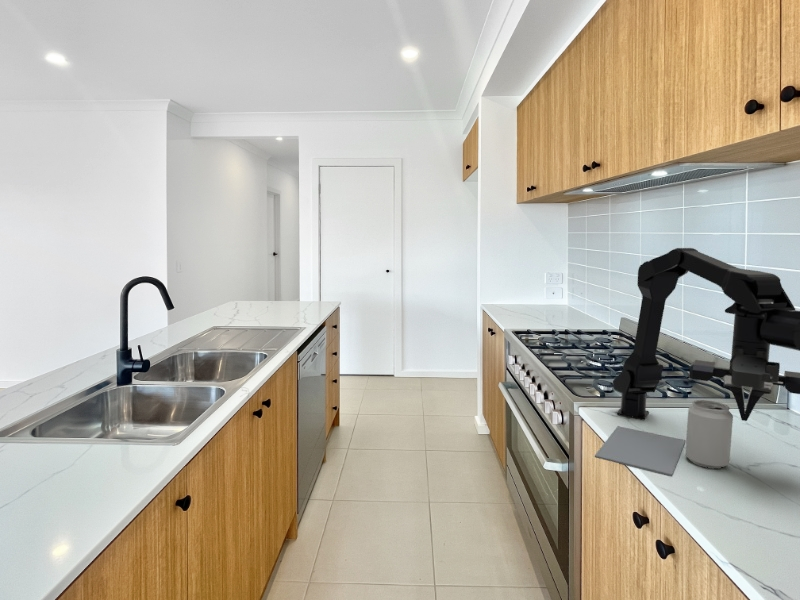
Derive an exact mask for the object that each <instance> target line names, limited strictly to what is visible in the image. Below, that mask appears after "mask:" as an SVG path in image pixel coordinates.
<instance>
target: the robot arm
mask: <svg viewBox="0 0 800 600" xmlns="http://www.w3.org/2000/svg"><path fill="white" fill-rule="evenodd" d="M688 273H691V274H694V275H695V276H698V277H700V278H701V279H704V280H706V281H708V282H711V283H712V284H715V285H717V286H718V287H719V288H721V291H722V292H723V294H724V295H725V296H727V297H728V298H729V299H731V300H732V301H733V302H734V303H733V304H731V305H729V306H728V307H727V308H725V309H724V313H726V314H731V315H734V320H733V329H732V330H733V332H732V341H731V342H732V343H731V344H732V345H731V357H730V359H729V368H725V367H717V366H716V362H714V361H706V360H698V359H695V360H694V361H692V362H691V364H690V366H689V374H688V375H689V376H688V378H689V379H690V380H696V381H704V382H708V381H710V380H712V379H713V378H714V377H717V378H722V379H723V381H724V382H723V388H725V389H729V390H730V392H731V393H732V395H733V398H734V399H735V403H736V406H737V409H738V413H739V414H740V415H739V416H740V419H741V421H745V422H747V421H748V420H749V417H750V416H751V414H752V412H753V410H754V408H755V406H756V405H757V403H758V401H760V399H761V398H762V397H763V396H764V395H771V394H772V392H773V391H772V387H773V386H780V387H784V388H785V389H786V390H787V391H788V392H789V393H790V394H795V395H800V372H797V371H788V370H784V374H781V375H780V367H781V366H780V365H781V364H780V362H774V361H770V360H769V359H770V348H771V345H772V346H776V347H781V348H784V349H789V350H793V351H799V352H800V310H796V307H795V306H794V304H793V302H792V301H791V299H790V297H789V296H788V294H787V293H786V291H785V289H784V288H783V286H782V283H781V278H780V277H779V276H778V275H776V274H775V273H771V272H765V271H761V270H760V271H759V270H755V269H754V270H753V269H746V268H739V267H736V266H734V265H732V264H729V263H727V262H724V261H722V260H719V259H717V258H715V257H712V256H710V255H708V254H705V253H702V252H701V251H698V249H696V248H693V247H676V248H673V249H672V250H669V252H667V253H664V254H662V255H660V256H657V257H655V258H652V259H650V260H647V261H644V262H643V263H641V264H640V265H639V267H638V270H637V287H638V289H639V291H640V294H641V296H642V297H641V298H642V299H641V303H640V308H639V309H640V311H639V314H638V315H639V316H638V322H637V327H636V334H635V341H634V344H633V345H634V346H633V349H632V350H633V351H632V353H631V354H630V355H629V356H628V357H627V358H626V359H625V361H624V363H623V366H622V370H621V372H620V373H619V374H618V375H617V376H616V377H615V378H614V380H612V385H613V389H614V390H615V391H617V392H619V393H621V397H620V398H621V399H620V408H619V410H617V411H616V415H617V416H621V417H622V416H623V417H627V418H632V419H638V420H643V421H644V420H646V418H647V417H648V415H649V413H650V411H649V410H647V408H646V407H647V394H648V393H655V392H656V389H657V388H658V385H659V383H660V382H661V381H663V379H662V374H663V372H664V371H663V370H664V365H663V364H660V363H659V361H658V358H657V356H656V355H657V350H658V344H659V340H660V339H659V338H660V333H661V327H662V322H663V316H664V311H665V306H666V300H667V298H669V297H670V296H671V294H672V293H674V290H676V287H677V284H678V281H679V279H680V278H681V277H683V276H684V275H687V274H688ZM744 387H749V388H750V390H749V394H748V397H747V402H746V405H745V393H744Z"/></svg>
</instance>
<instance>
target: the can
mask: <svg viewBox="0 0 800 600" xmlns="http://www.w3.org/2000/svg"><path fill="white" fill-rule="evenodd" d="M730 410H731V409H730V407H729V405H727V404H724V403H721V402H719V401H715V400H707V399H699V400H697V399H696V400H694V401H692V405H691V406H690V407H688V410H687V423H686V424H687V425H686V428H687V429H686V438H685V453H684V454H685V456H686V457H687V458H688V459H689V461H690V462H691V463H693V464H695V465H696V466H699V467H702V468H703V467H704V468H707V467H708V469H714V468H718V469H722V468H721V467H723V468H724V467H726V466H728V465H729V464H730V460H731V459H730V458H731V447H732V433H733V423H734V420H733V418H734V416H733V415H734V414H732V413H731V411H730Z"/></svg>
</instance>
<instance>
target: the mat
mask: <svg viewBox="0 0 800 600" xmlns="http://www.w3.org/2000/svg"><path fill="white" fill-rule="evenodd" d="M685 445H686V439H682V438H677V437H673V436H668V435H663V434H658V433H654V432H648V431H643V430H639V429H633V428H628V427H624V426H619V425H617V427H616V428H615V429H614V430H613V432H612V433H611V434H610V436H608V438H607V439H606V440H605V441H604V443H603V444H602V445H601V447H600V448H599V450H598V451H596V453H595V455H594V458H596V459H600V460H603V461H604V460H605V461H609V462H612V463H617V464H620V465H626V466H628V467H632V468H637V469H641V470H645V471H648V472H652V473H657V474H661V475H664V476H669V477H673V475H674V473H675V469H676V467H677V464H678V462H679V459H680V456H681V454H682V451H683V449H684V446H685Z"/></svg>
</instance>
